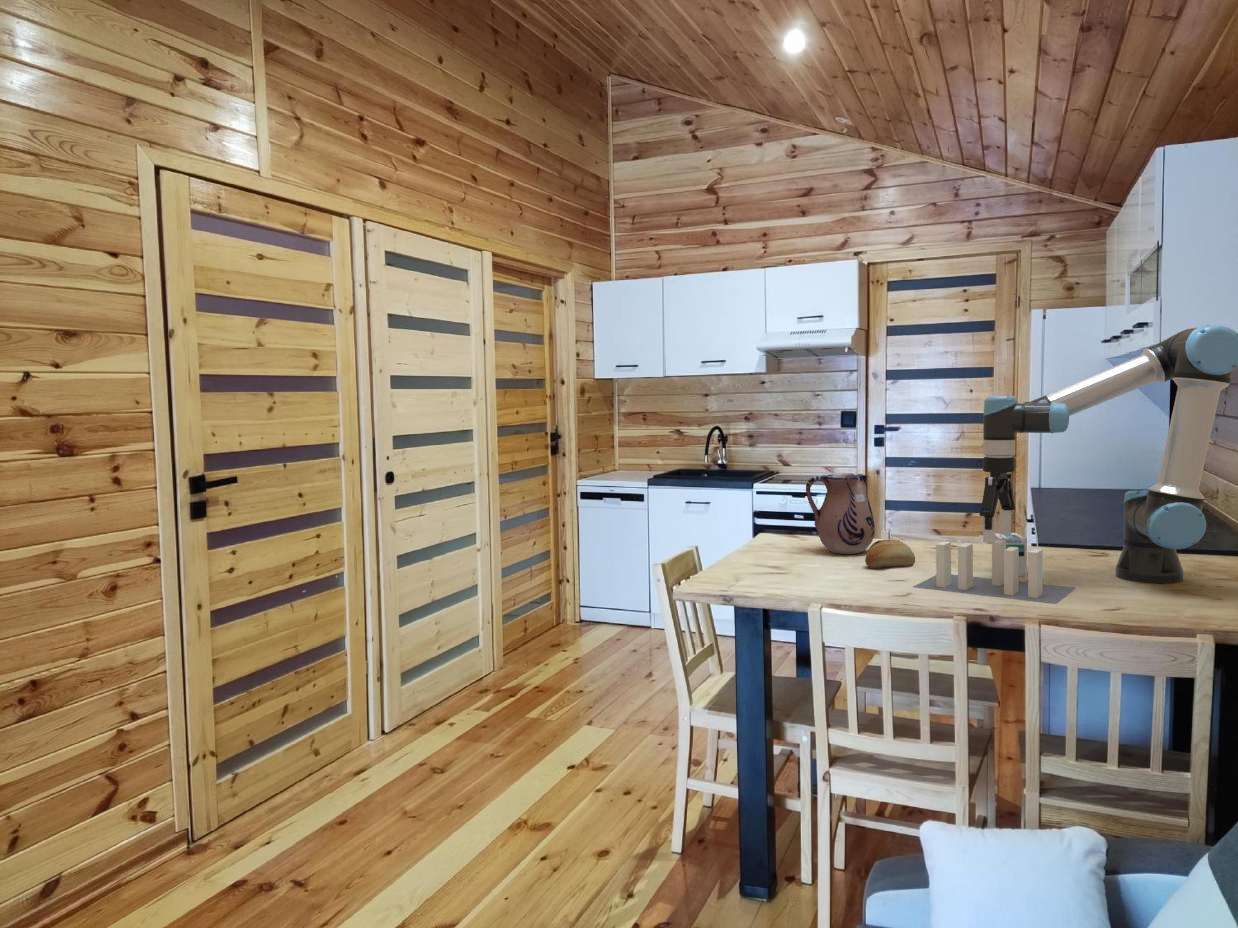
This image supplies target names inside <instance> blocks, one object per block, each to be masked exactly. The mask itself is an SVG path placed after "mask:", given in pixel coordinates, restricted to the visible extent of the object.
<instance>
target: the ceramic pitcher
mask: <svg viewBox="0 0 1238 928" xmlns="http://www.w3.org/2000/svg"><path fill="white" fill-rule="evenodd" d="M867 477H868V475H867V474H863V473H861V474H860V473H858V474H854V473H852V472H850V473H849V472H848V473H846V472H843V473H835V474H834V473H832V474H831V473H830V474H826V475H824V474H823V475H814V476H812V477H810V478H809V479H808V480H807V483H806V484H805V494H806V498H807V500H808V503H809V506H810V508H811V510H812V512H813V515H814V527H815V529H816V530H817V533H818V538H819V539H820V542H821V544H822V545H823V546H824V547H825V548H826V550H828V551H829V552H831V553H834V554H838V553H839V554H838V555H855V554H860V553H863V552H864V551H866V550H868V548H869V547H870V546H871V545H872V542H873V540H874V537H875V532H876V526H875V525H876V524H875V520H874V515H873V511H872V507H871V504H870V500H869V497H868V492H867V490H868V489H867V480H868V479H867ZM816 482H822V483H823V484H824V486H825V488H826V493H825V496H824V499H823V502H822V505H821V507H820V508H819V509H818V507H817V505H816V504H815V502H814V499H813V496H812V494H811V493H812V492H811V488H812V485H813V484H814V483H816Z"/></svg>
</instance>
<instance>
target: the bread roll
mask: <svg viewBox="0 0 1238 928" xmlns="http://www.w3.org/2000/svg"><path fill="white" fill-rule="evenodd" d="M864 562H865V564H866V566H867V567H869V568H877V569H878V568H895V567H896V568H897V567H898V568H899V567H912V566H914V564H915V563H916V555H915V554H914V552H913V551H912V549H911V547H910V546H909V545H908V544H907V543H905V542H903V541H900V540H897V539H882V540H877V541H875V542H874V543H871V544H870V545H869V547H868V548H867V550H866V554H865V560H864Z"/></svg>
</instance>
